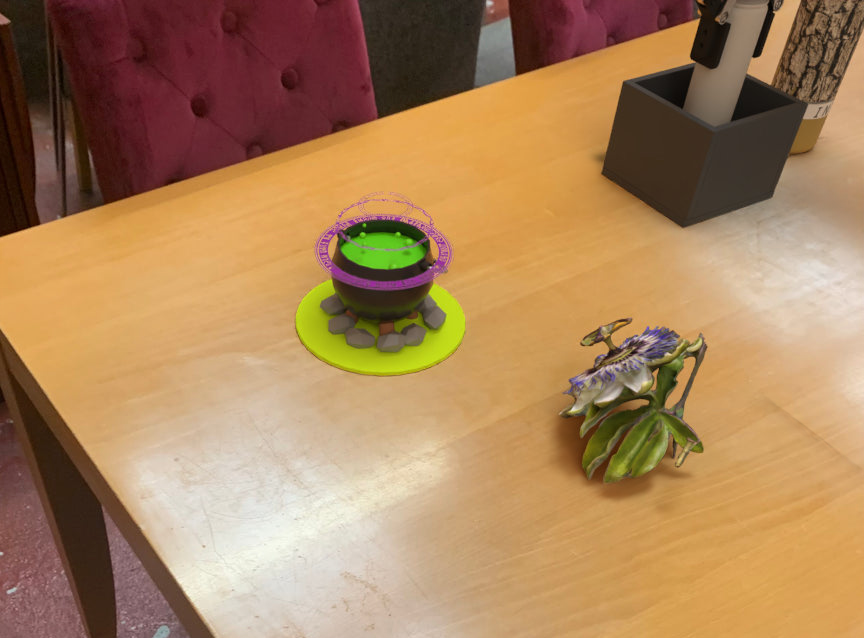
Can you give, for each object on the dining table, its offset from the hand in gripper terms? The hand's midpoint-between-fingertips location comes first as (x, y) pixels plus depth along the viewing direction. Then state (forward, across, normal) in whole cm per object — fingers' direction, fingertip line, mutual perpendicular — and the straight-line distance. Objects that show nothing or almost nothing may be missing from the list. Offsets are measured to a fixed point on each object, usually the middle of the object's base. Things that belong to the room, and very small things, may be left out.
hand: (725, 56), depth 85 cm
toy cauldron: (+13, -41, -5) cm, 43 cm away
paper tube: (+13, +17, +2) cm, 22 cm away
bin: (+13, 0, 0) cm, 13 cm away
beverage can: (+7, 0, 0) cm, 7 cm away
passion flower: (+13, -32, -27) cm, 44 cm away
